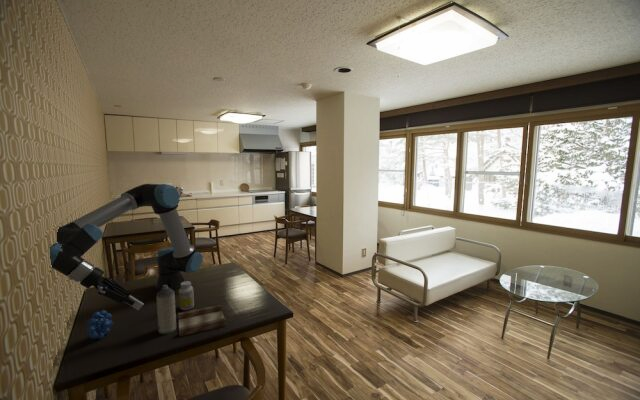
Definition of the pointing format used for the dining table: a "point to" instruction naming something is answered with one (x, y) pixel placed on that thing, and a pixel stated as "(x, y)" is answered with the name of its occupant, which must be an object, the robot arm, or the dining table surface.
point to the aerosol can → (166, 310)
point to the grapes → (99, 324)
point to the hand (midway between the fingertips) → (141, 306)
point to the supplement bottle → (186, 296)
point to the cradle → (201, 320)
